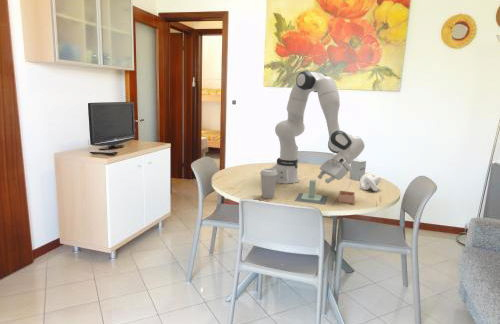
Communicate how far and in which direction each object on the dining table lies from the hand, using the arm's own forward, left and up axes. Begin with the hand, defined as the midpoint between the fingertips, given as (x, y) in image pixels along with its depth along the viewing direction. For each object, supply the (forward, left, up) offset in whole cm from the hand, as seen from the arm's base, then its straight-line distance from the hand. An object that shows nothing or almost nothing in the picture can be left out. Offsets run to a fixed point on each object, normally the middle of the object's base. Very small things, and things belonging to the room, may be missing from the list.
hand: (322, 180), depth 191 cm
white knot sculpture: (+25, +30, -11) cm, 41 cm away
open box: (+13, 0, -10) cm, 17 cm away
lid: (-5, -3, -10) cm, 11 cm away
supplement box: (+18, +56, -11) cm, 60 cm away
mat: (-5, -3, -10) cm, 12 cm away
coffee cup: (-28, -8, -11) cm, 31 cm away
